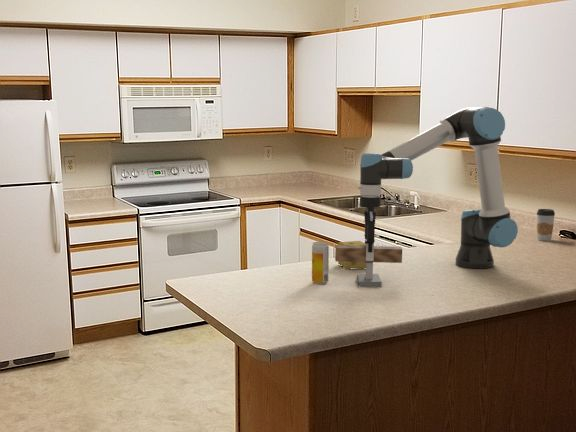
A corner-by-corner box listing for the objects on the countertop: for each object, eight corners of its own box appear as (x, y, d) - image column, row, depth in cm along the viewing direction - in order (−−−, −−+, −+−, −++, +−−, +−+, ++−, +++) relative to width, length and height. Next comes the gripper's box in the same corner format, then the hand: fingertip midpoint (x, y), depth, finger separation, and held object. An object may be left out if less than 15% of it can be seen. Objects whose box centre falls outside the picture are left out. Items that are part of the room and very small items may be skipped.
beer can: (318, 280, 258) (318, 240, 255) (331, 282, 254) (331, 242, 251) (308, 283, 253) (308, 243, 251) (321, 285, 249) (322, 245, 247)
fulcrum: (378, 279, 259) (378, 258, 257) (381, 287, 247) (381, 265, 246) (357, 279, 259) (357, 258, 258) (359, 287, 247) (359, 265, 246)
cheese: (345, 270, 273) (346, 245, 272) (336, 264, 283) (337, 241, 282) (370, 268, 276) (370, 244, 274) (360, 263, 286) (360, 239, 285)
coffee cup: (534, 241, 333) (535, 210, 331) (536, 238, 341) (538, 208, 338) (552, 242, 329) (554, 211, 327) (554, 239, 337) (556, 209, 334)
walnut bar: (400, 259, 254) (400, 246, 253) (401, 262, 249) (402, 249, 248) (335, 258, 254) (335, 245, 254) (335, 261, 249) (335, 247, 249)
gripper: (358, 193, 257) (357, 253, 260) (361, 199, 239) (360, 264, 243) (378, 193, 257) (376, 254, 260) (383, 199, 239) (381, 264, 242)
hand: (368, 258), depth 251 cm, fingers closed on walnut bar, 5 cm apart
